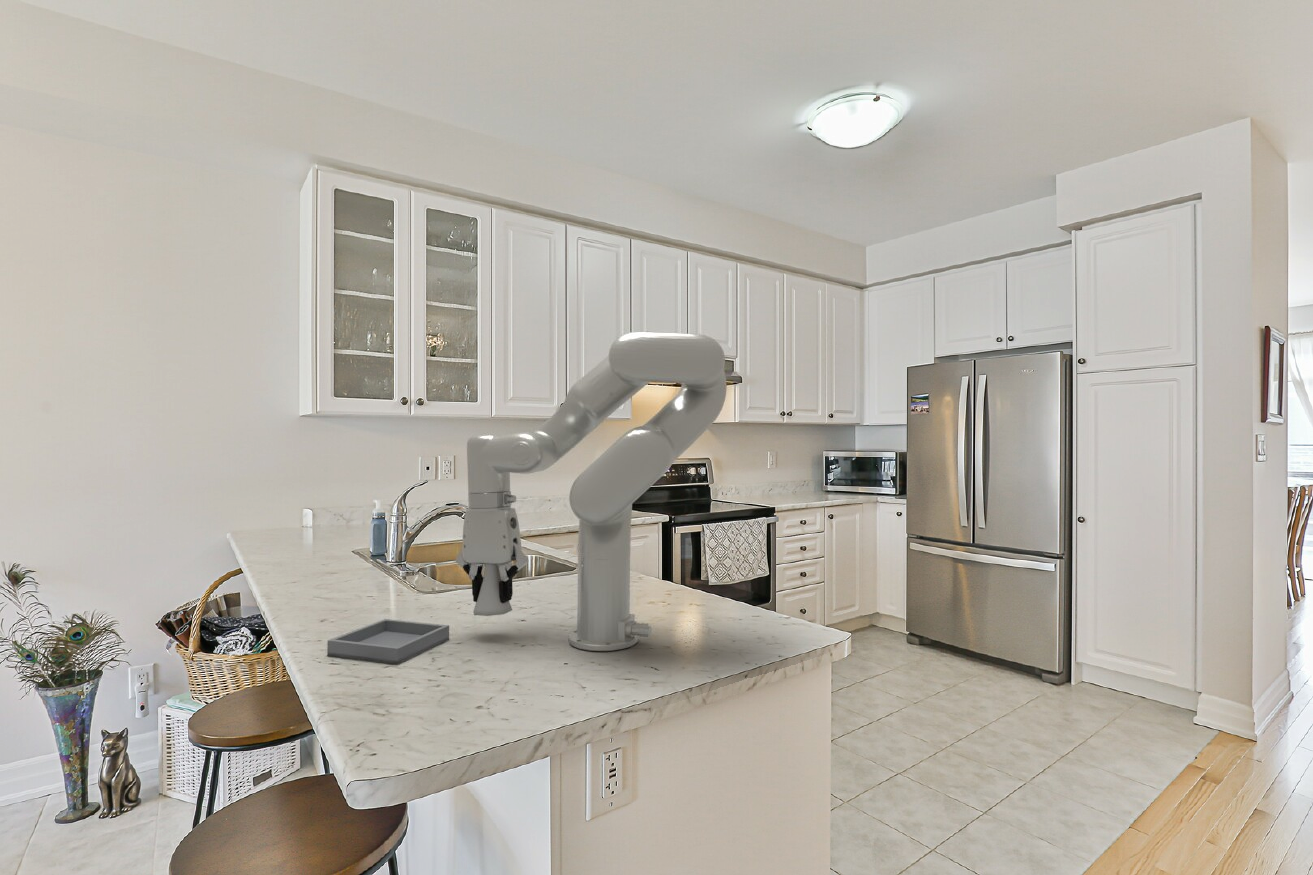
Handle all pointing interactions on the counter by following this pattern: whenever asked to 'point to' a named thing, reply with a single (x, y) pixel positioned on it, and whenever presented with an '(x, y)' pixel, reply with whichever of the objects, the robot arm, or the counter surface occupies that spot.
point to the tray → (388, 641)
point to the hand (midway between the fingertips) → (492, 599)
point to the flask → (490, 594)
